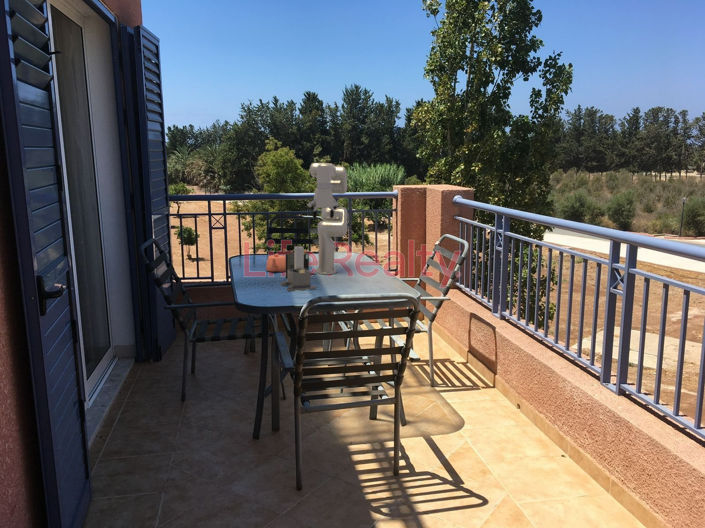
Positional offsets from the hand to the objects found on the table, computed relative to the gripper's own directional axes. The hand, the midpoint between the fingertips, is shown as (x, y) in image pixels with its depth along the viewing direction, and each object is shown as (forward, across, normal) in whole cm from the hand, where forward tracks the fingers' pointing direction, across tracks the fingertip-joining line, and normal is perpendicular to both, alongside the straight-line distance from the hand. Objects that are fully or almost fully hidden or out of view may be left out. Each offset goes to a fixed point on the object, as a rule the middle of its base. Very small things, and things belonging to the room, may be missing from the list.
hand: (323, 218), depth 311 cm
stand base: (+36, +16, +7) cm, 40 cm away
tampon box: (+37, +11, -13) cm, 40 cm away
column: (+30, +16, +7) cm, 35 cm away
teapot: (+37, +18, -34) cm, 53 cm away
